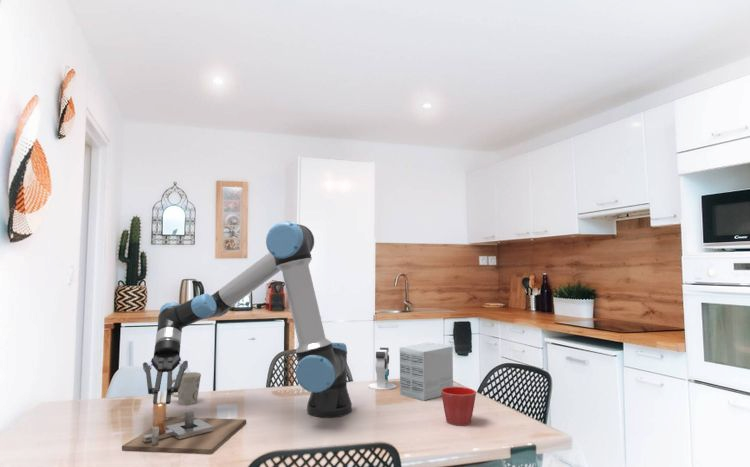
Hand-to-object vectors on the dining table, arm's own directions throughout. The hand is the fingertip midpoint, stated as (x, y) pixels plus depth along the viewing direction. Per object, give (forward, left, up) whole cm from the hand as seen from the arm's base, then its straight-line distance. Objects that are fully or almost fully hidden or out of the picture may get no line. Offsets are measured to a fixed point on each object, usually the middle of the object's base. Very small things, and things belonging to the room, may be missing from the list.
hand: (160, 414), depth 138 cm
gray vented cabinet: (-76, -58, -7) cm, 96 cm away
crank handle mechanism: (-4, -1, -6) cm, 7 cm away
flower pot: (-86, -25, -7) cm, 90 cm away
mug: (+12, -37, -7) cm, 40 cm away
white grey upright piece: (-58, -67, -7) cm, 89 cm away
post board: (-7, -4, -7) cm, 11 cm away
